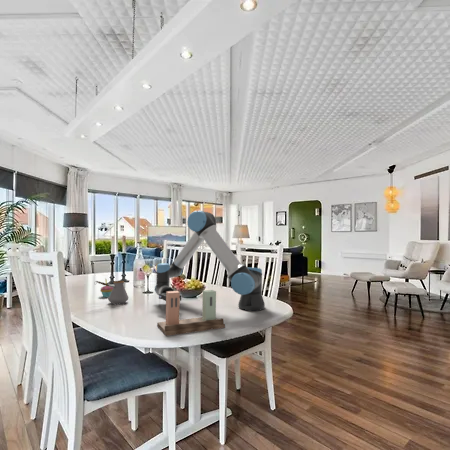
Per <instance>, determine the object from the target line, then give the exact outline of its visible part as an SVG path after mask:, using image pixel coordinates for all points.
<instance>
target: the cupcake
mask: <svg viewBox="0 0 450 450" xmlns="http://www.w3.org/2000/svg"><path fill="white" fill-rule="evenodd" d="M104 279H105V283H106V284H108V282H107V281H108V280H107V278H104ZM112 289H113V288H112V287H110V286H106V285H103V286H102V287H101V288H100V293H101V294H102V297H103V298H109V296H110V294H111V292H112Z"/></svg>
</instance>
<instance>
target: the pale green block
mask: <svg viewBox="0 0 450 450" xmlns="http://www.w3.org/2000/svg"><path fill="white" fill-rule="evenodd" d="M201 304H202V306H201V308H202V310H201V311H202V312H201V313H202V314H201V316H202V321H206V320H214V319H217V291H216V290H213V289H209V290H206V289H205V290H202V303H201Z"/></svg>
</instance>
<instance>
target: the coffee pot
mask: <svg viewBox="0 0 450 450" xmlns="http://www.w3.org/2000/svg"><path fill="white" fill-rule="evenodd" d="M97 284H100V285H102V286H110V287H112V288H113V289H112V292H111V294H110V296H109V297H107V298H108V302H109V303H111V304H112V305H123V304H125V303H126V302H127V301H128V300H129V295H128V293H127V290H126V288H125V286H124V284H125V281H124V280H115V281H113V284H114V285H111V284H108V283H107V284H106V282H101V281H98V280H95V282H94V285H97Z"/></svg>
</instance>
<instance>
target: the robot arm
mask: <svg viewBox="0 0 450 450" xmlns="http://www.w3.org/2000/svg"><path fill="white" fill-rule="evenodd" d="M186 221H187V222H186V223H187V227H188V228H189V229H190V231H192V232H193V234H192V235H191V237H190V238H189V239H188V241H187V242H186V243H185V245H184V246H183V248H182V249H181V250H180V251H179V253H178V254H177V256H176V257H175V259H174V260H173V262H172V263H171V264H169V263H167V262H166V263H165V262H164V263H163V262H161V263H158V264H156V282H155V283H156V285H155V286H154V291H155V294H156V295H157V296H158V300H163V301H165V302H166V292H168V291H175V289H174V288H173V287H171V286H170V279H172V278H177V277H179V276H181V275H182V274H183V270H184V268H185V266H186V265H187V264H188V263H189V261H190V260H191V259H192V257H193V256H194V254H195V253H196V252H197V250H198V249H199V247H201V245H202V244H203V242H204V241H205V243H206V244H207V245H208V247H209V248H210V250H211V252H213V255H215V257H216V258H217V259H218V261H219V262H220V263H221V265H222V266H223V268H224V269H225V270H226V272H227V278H228V280H229V281H230V286H231V289H232V291H234V292H235V293H236V294H238V295H240V298H239V301H238V305H237V306H238V307H239V309H240V308H241V309H240V310H242V309H245V310H244V311H249V310H258V311H261V310H260V309H263V310H265V309H266V307H265V305H266V304H265V302H264V297H263V295H262V293H263V291H262V290H263V289H262V288H263V270H262V268H260V267H247V265H246V264H243V263H242V262H241V261H240V260H239V259H238V258H237V255H235V253H233V251H232V249H231V248H230V247H229V246H228V244H227V243H226V241H225V240H224V239H223V237H222V236H221V234H220V233H219V232H218V231H217V218H216V216H215V215H214V214H213V213H211V212H208V211H203V210H194V211H192V212H191V213H189V215H188V217H187V220H186ZM179 292H180V301H179V305H181V301H182V296H183V295H182V293H183V292H182V291H179ZM238 307H237V308H238ZM264 308H265V309H264Z"/></svg>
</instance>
